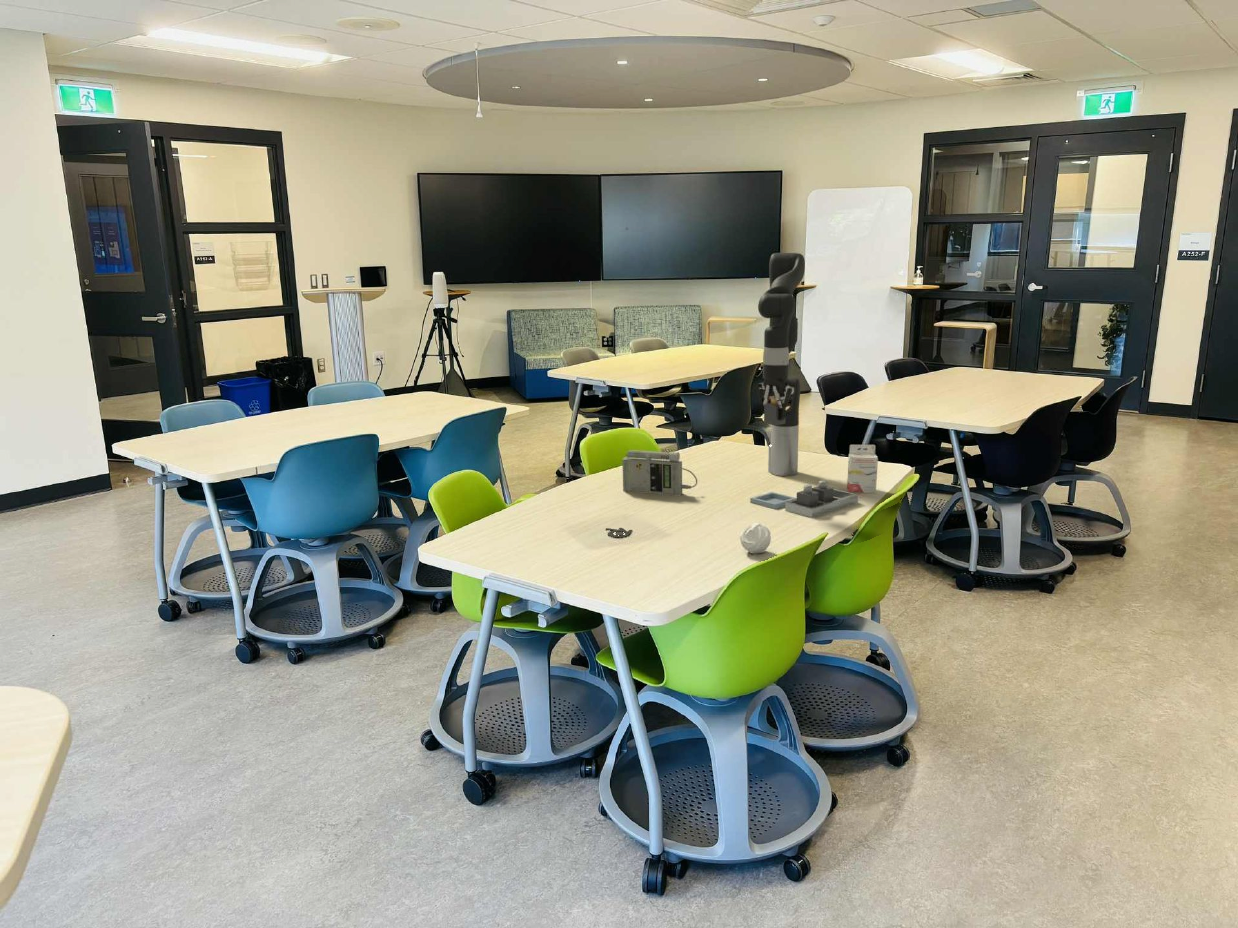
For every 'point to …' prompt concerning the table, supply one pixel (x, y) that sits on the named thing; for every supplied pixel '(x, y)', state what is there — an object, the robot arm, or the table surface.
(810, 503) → the twin plug
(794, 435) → the robot arm
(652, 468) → the geiger counter
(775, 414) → the plug
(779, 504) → the tray
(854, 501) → the strip
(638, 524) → the table surface
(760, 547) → the crumpled white ball
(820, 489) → the twin plug
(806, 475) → the table surface
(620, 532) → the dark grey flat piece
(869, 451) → the ink cartridge box
